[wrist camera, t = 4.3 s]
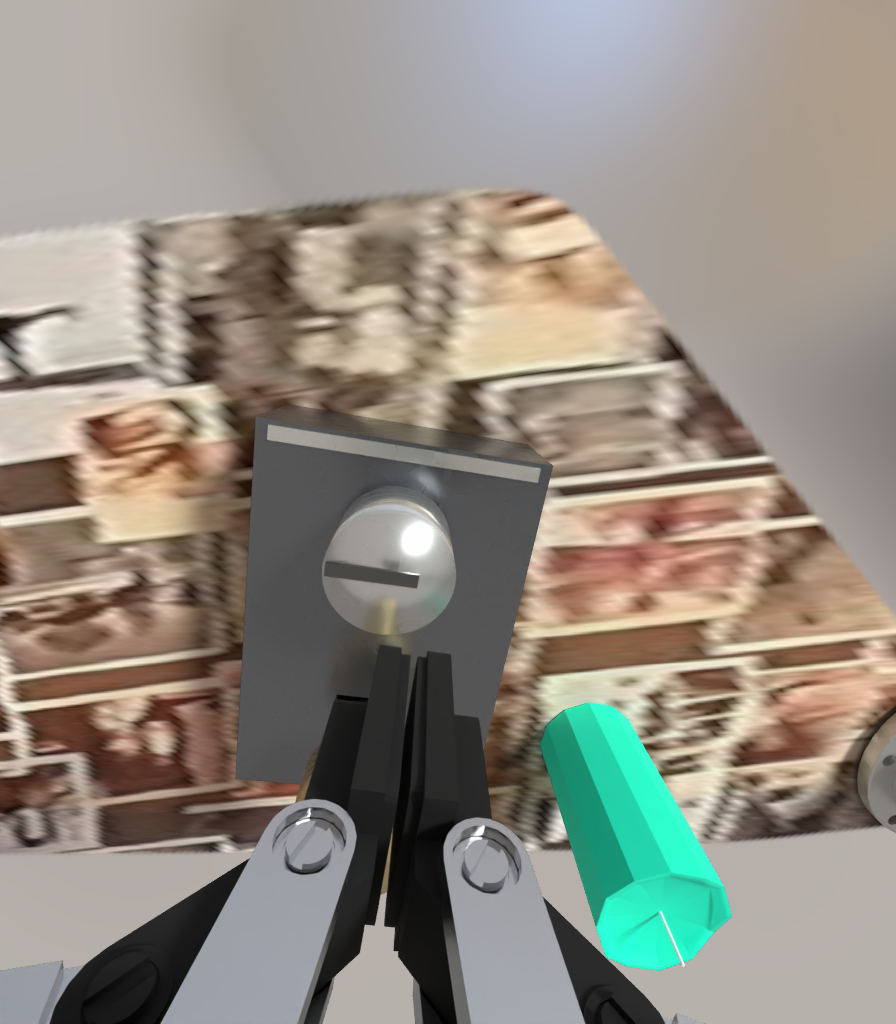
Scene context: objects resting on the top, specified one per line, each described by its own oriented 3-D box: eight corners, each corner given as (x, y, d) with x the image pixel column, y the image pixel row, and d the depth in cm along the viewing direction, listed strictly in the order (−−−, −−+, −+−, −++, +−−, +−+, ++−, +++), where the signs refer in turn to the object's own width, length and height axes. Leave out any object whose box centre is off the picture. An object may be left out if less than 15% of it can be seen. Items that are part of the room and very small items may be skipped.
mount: (527, 444, 25) (553, 466, 20) (463, 729, 30) (472, 800, 25) (288, 404, 24) (255, 417, 19) (265, 708, 29) (234, 780, 24)
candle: (567, 792, 32) (648, 1031, 21) (522, 732, 31) (584, 957, 19) (647, 750, 32) (777, 974, 20) (607, 686, 30) (723, 891, 18)
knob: (452, 470, 24) (467, 525, 16) (436, 556, 25) (444, 644, 18) (357, 455, 23) (328, 504, 16) (347, 544, 25) (315, 628, 17)
